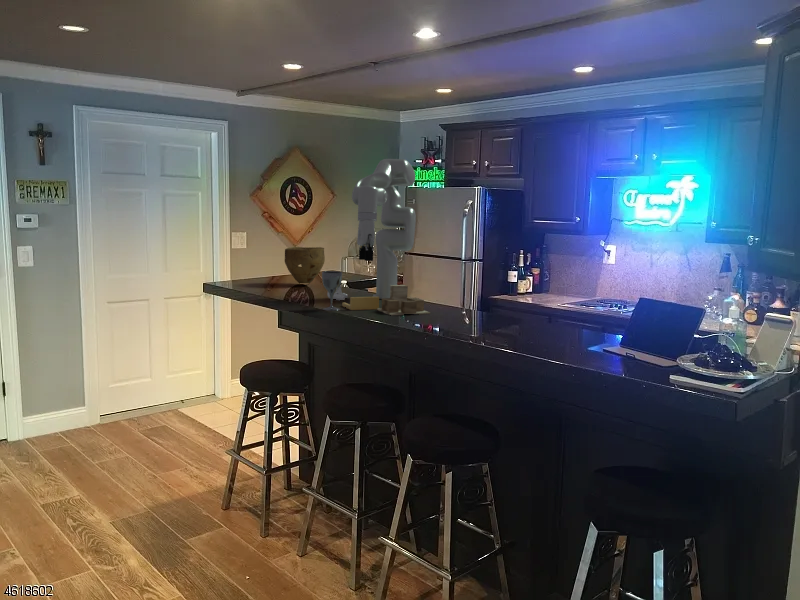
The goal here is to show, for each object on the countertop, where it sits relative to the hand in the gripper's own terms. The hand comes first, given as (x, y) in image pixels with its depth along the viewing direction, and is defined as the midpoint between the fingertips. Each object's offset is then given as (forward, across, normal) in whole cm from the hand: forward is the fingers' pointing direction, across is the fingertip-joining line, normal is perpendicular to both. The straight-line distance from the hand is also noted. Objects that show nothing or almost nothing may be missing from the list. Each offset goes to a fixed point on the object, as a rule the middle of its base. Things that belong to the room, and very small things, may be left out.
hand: (365, 260), depth 262 cm
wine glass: (+20, -2, -13) cm, 24 cm away
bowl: (+18, -83, -11) cm, 86 cm away
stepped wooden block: (+20, +7, +14) cm, 25 cm away
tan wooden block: (+20, -6, 0) cm, 21 cm away
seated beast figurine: (+19, -31, -5) cm, 37 cm away
